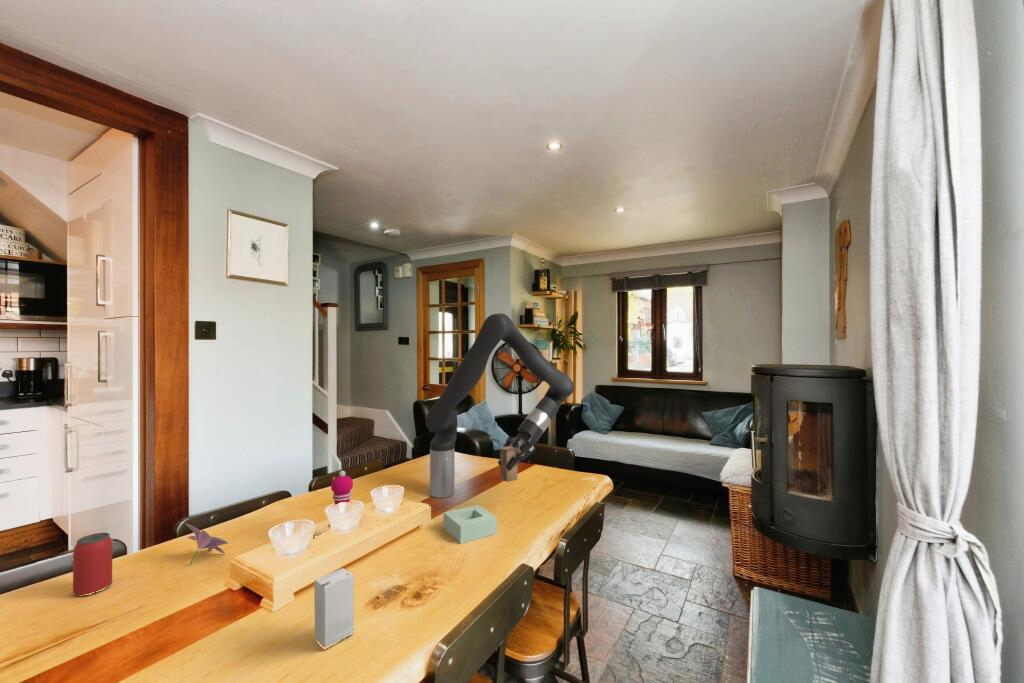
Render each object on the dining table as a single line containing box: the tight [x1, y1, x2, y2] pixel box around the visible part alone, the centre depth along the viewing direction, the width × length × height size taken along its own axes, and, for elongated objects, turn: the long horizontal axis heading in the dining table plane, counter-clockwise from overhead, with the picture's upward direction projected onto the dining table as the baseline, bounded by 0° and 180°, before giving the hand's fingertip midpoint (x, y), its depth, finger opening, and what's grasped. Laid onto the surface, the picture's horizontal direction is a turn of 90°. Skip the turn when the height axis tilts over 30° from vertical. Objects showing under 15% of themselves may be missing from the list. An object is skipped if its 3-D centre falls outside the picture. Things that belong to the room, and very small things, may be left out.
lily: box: [185, 523, 229, 566], centre depth 114 cm, size 12×12×10 cm
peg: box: [499, 446, 519, 483], centre depth 139 cm, size 4×4×10 cm
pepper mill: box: [328, 470, 354, 528], centre depth 126 cm, size 7×7×20 cm
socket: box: [443, 504, 498, 544], centre depth 131 cm, size 12×12×5 cm
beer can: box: [72, 532, 113, 596], centre depth 100 cm, size 7×7×12 cm
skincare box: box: [313, 568, 355, 647], centre depth 83 cm, size 6×4×12 cm
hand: (503, 466), depth 138 cm, fingers closed on peg, 4 cm apart
